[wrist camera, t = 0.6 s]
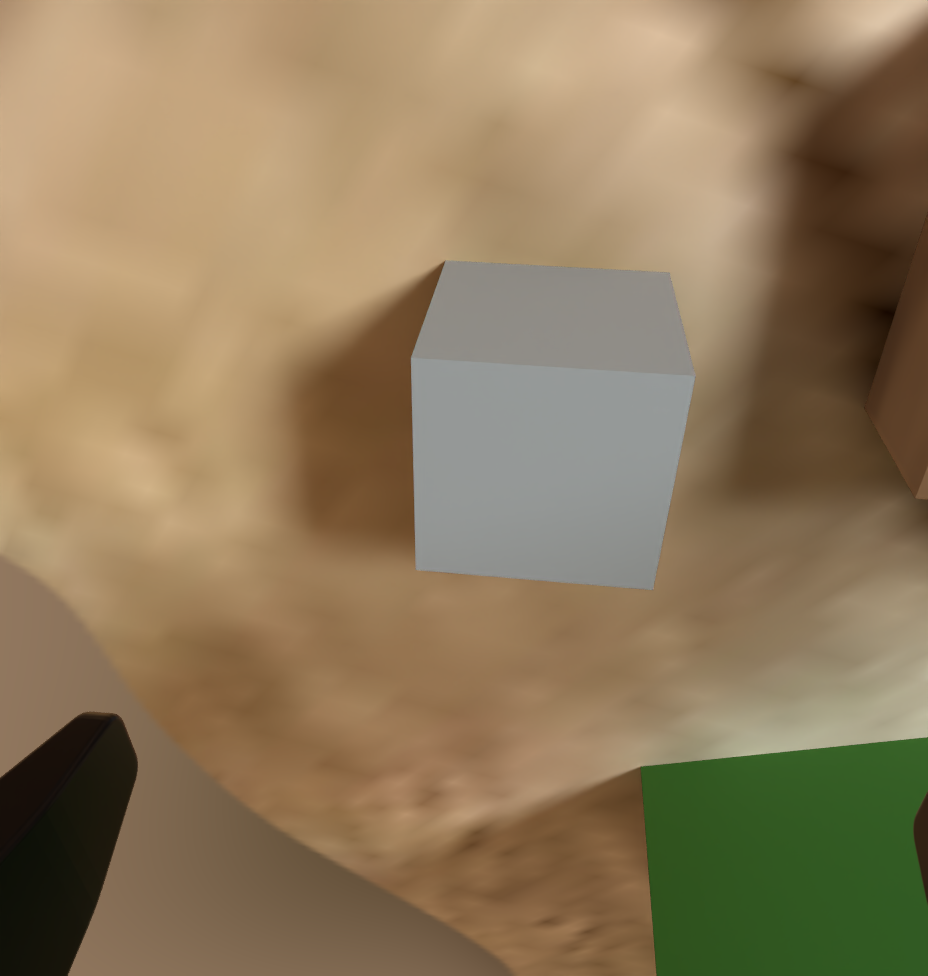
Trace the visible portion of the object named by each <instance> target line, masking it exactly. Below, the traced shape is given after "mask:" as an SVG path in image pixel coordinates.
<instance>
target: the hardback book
mask: <svg viewBox="0 0 928 976" xmlns="http://www.w3.org/2000/svg"><path fill="white" fill-rule="evenodd" d="M641 778H642V791H643V804H644V817H645V830H646V844H647V857H648V870H649V883H650V896H651V909H652V922H653V935H654V948H655V961H656V974H657V976H928V905H927V901H926V896H925V891H924V886H923V881H922V876H921V871H920V867H919V862H918V857H917V852H916V847H915V842H914V835H913V824H914V819H915V816H916V813H917V811H918V809H919V807H920V805H921V803H922V801H923V799H924V797H925V795H926V793H927V791H928V737H927V738H917V739H907V740H898V741H888V742H878V743H868V744H859V745H849V746H839V747H829V748H819V749H810V750H800V751H790V752H780V753H770V754H761V755H751V756H741V757H731V758H722V759H712V760H702V761H692V762H683V763H673V764H663V765H653V766H643V767H641Z"/></svg>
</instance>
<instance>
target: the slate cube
mask: <svg viewBox="0 0 928 976" xmlns="http://www.w3.org/2000/svg"><path fill="white" fill-rule="evenodd" d="M694 381H695V372H694V368H693V364H692V360H691V356H690V352H689V348H688V344H687V340H686V336H685V332H684V328H683V324H682V320H681V316H680V312H679V308H678V304H677V301H676V297H675V293H674V289H673V285H672V281H671V277H670V273H667V272H648V271H630V270H612V269H593V268H575V267H556V266H538V265H519V264H501V263H482V262H464V261H445V264H444V267H443V269H442V272H441V275H440V278H439V281H438V283H437V286H436V289H435V292H434V295H433V297H432V300H431V303H430V306H429V309H428V311H427V314H426V317H425V320H424V323H423V325H422V328H421V331H420V334H419V337H418V339H417V342H416V345H415V348H414V351H413V353H412V356H411V384H412V428H413V472H414V515H415V559H416V570H421V571H433V572H445V573H457V574H469V575H480V576H492V577H504V578H516V579H528V580H539V581H551V582H563V583H575V584H587V585H598V586H610V587H622V588H634V589H646V590H653V587H654V582H655V577H656V572H657V567H658V562H659V557H660V552H661V547H662V542H663V537H664V532H665V527H666V522H667V517H668V512H669V507H670V502H671V497H672V492H673V487H674V482H675V477H676V472H677V467H678V462H679V457H680V452H681V447H682V442H683V437H684V432H685V426H686V421H687V416H688V411H689V406H690V401H691V396H692V391H693V386H694Z"/></svg>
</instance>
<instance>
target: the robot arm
mask: <svg viewBox="0 0 928 976" xmlns="http://www.w3.org/2000/svg"><path fill="white" fill-rule="evenodd" d="M137 771H138V761H137V756H136V753H135V750H134V748H133V745H132V743H131V740H130V737H129V735H128V732H127V730H126V727H125V725H124V722H123V720H122V718H121V717H120V716H118V715H117V714H113V713H100V712H86V713H82V714H80V715H78V716H77V717H75V718H74V719H73V720H71V721H70V722H69V723H68V724H66V725H65V726H64V727H63V728H62V729H60V730H59V731H58V732H56V733H55V734H54V735H53V736H52V737H50V738H49V739H48V740H47V741H45V742H44V743H43V744H42V745H40V746H39V747H38V748H37V749H35V750H34V751H33V752H32V753H30V754H29V755H28V756H27V757H25V758H24V759H23V760H22V761H20V762H19V763H18V764H17V765H15V766H14V767H13V768H12V769H11V770H9V771H8V772H7V773H5V774H4V775H3V776H2V777H1V778H0V976H68V973H69V971H70V968H71V966H72V964H73V961H74V959H75V957H76V954H77V951H78V950H79V947H80V945H81V943H82V940H83V938H84V935H85V933H86V930H87V928H88V926H89V923H90V921H91V918H92V916H93V913H94V910H95V908H96V905H97V902H98V899H99V896H100V893H101V890H102V888H103V884H104V881H105V878H106V875H107V871H108V868H109V865H110V862H111V858H112V855H113V852H114V849H115V845H116V842H117V839H118V835H119V832H120V829H121V825H122V822H123V819H124V816H125V812H126V809H127V806H128V803H129V800H130V796H131V793H132V790H133V787H134V783H135V780H136V776H137ZM913 835H914V842H915V847H916V852H917V857H918V862H919V867H920V871H921V876H922V881H923V886H924V891H925V896H926V901H927V905H928V791H927V793H926V795H925V797H924V799H923V801H922V803H921V805H920V807H919V809H918V811H917V813H916V816H915V819H914V824H913Z"/></svg>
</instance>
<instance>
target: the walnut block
mask: <svg viewBox="0 0 928 976" xmlns="http://www.w3.org/2000/svg"><path fill="white" fill-rule="evenodd" d="M864 409H865V410H866V412H867V414H868V416H869V417H870V419H871V421H872V423H873V425H874V426H875V428H876V430H877V432H878V433H879V435H880V437H881V439H882V441H883V442H884V444H885V446H886V448H887V449H888V451H889V453H890V455H891V457H892V458H893V460H894V462H895V464H896V465H897V467H898V469H899V471H900V473H901V474H902V476H903V478H904V480H905V481H906V483H907V485H908V487H909V489H910V490H911V492H912V494H913V496H914V497H915V499H928V213H927V216H926V219H925V222H924V225H923V228H922V232H921V235H920V238H919V241H918V244H917V247H916V250H915V253H914V256H913V259H912V262H911V266H910V269H909V272H908V275H907V278H906V281H905V284H904V287H903V290H902V293H901V296H900V300H899V303H898V306H897V309H896V312H895V315H894V318H893V321H892V324H891V327H890V330H889V334H888V337H887V340H886V343H885V346H884V349H883V352H882V355H881V358H880V361H879V364H878V367H877V371H876V374H875V377H874V380H873V383H872V386H871V389H870V392H869V395H868V398H867V401H866V405H865V408H864Z"/></svg>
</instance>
